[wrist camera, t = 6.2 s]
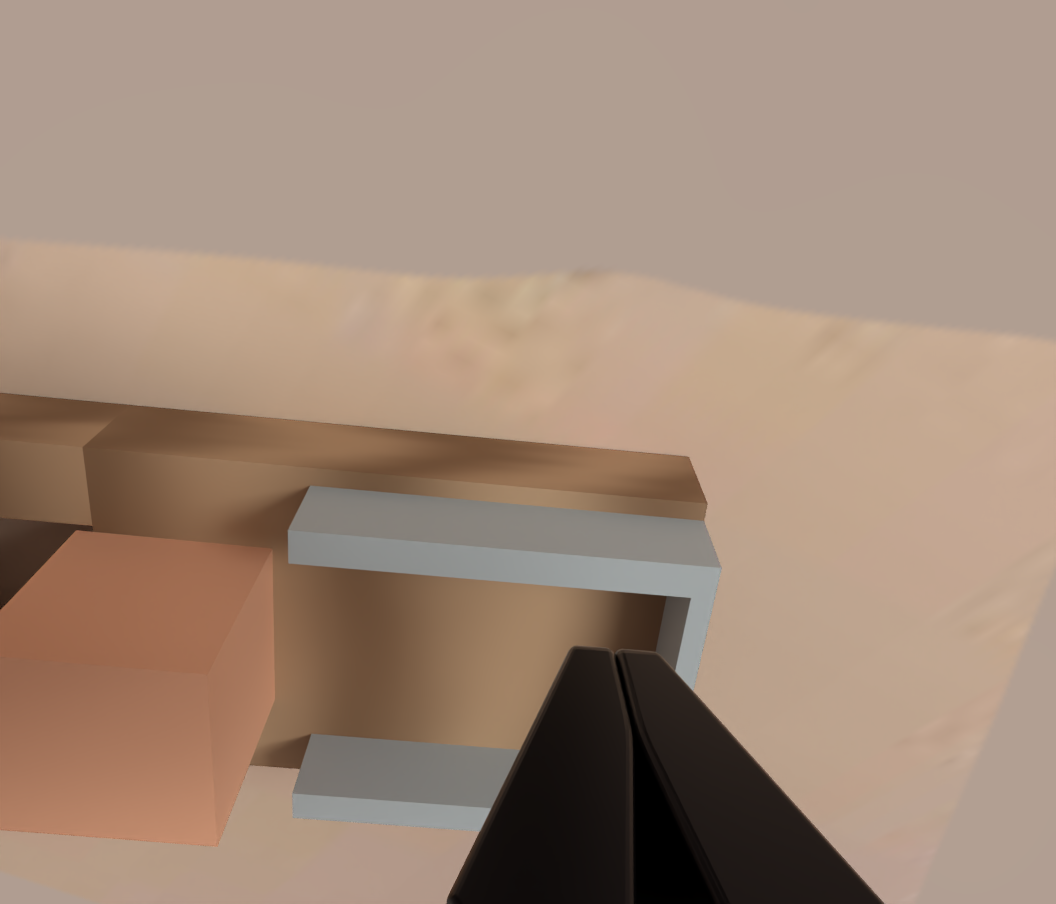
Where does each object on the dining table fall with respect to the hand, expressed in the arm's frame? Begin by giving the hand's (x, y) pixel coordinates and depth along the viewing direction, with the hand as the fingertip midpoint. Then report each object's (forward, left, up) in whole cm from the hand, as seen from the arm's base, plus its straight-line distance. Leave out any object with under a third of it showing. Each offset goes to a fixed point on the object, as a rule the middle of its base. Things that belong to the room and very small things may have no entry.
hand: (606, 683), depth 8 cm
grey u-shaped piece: (-8, +2, -11) cm, 13 cm away
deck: (-6, +8, -13) cm, 17 cm away
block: (-6, +10, -11) cm, 16 cm away
